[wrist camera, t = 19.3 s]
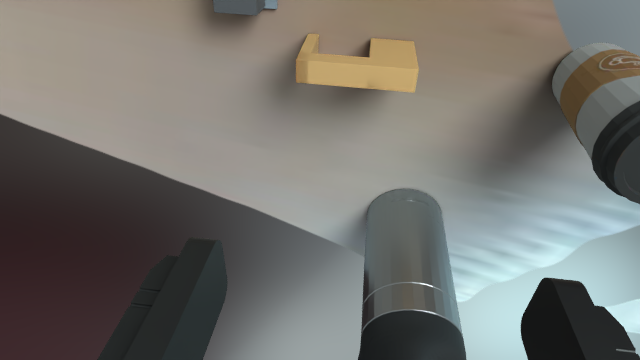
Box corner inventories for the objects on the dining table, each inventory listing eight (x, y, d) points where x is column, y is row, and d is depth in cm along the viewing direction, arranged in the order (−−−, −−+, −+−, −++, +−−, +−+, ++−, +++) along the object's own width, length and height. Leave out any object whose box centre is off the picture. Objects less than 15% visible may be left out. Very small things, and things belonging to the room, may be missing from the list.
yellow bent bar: (410, 62, 40) (414, 92, 34) (308, 54, 41) (296, 82, 35) (413, 41, 39) (418, 69, 33) (308, 33, 40) (296, 59, 34)
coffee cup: (653, 26, 36) (788, 102, 24) (620, 113, 41) (719, 212, 29) (550, 31, 37) (629, 106, 25) (530, 115, 42) (588, 211, 30)
